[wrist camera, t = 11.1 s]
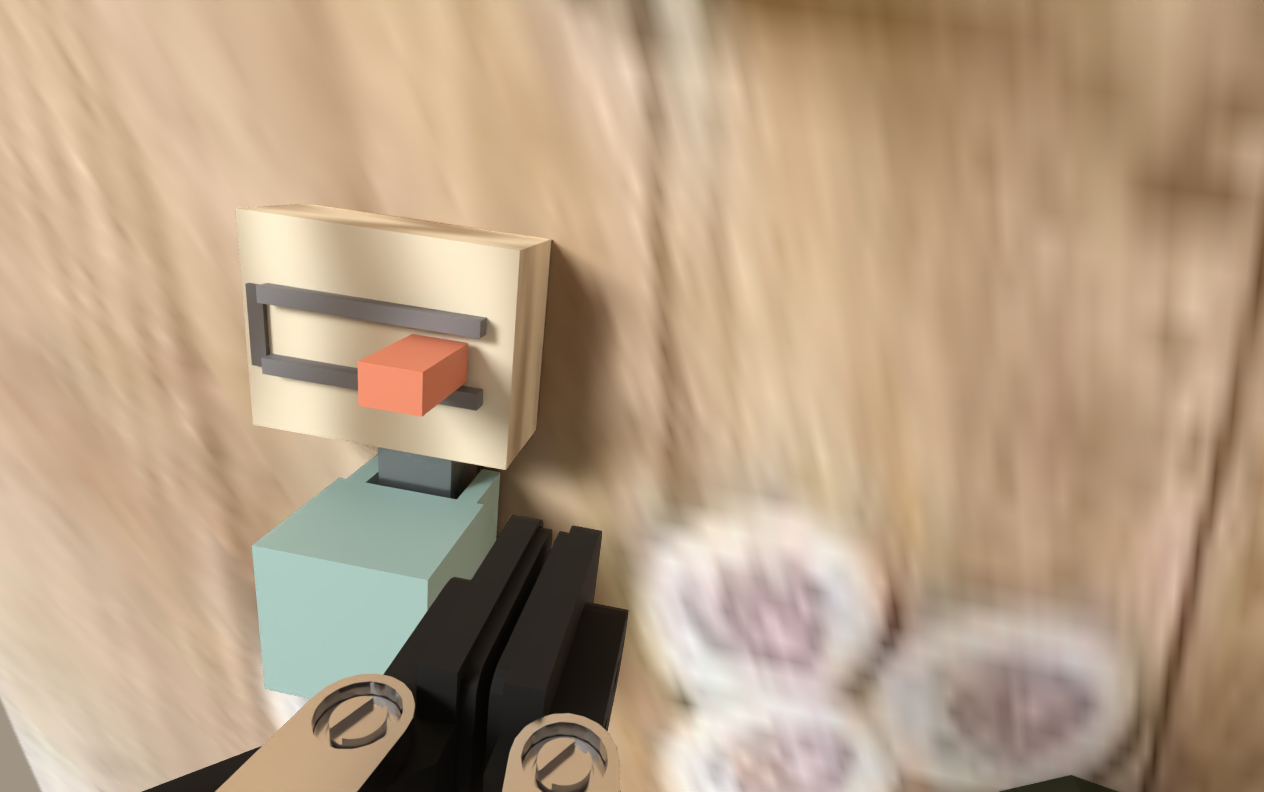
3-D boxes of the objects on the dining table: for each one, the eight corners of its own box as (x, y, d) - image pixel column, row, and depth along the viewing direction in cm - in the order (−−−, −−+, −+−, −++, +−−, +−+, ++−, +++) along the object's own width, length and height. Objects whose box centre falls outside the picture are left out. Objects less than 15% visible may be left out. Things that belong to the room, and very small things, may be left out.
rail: (501, 434, 28) (466, 475, 24) (483, 735, 33) (452, 805, 30) (391, 415, 28) (339, 452, 24) (392, 715, 34) (350, 782, 30)
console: (551, 238, 25) (514, 252, 20) (536, 429, 27) (500, 477, 23) (307, 203, 25) (222, 209, 21) (316, 391, 28) (242, 430, 24)
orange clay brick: (468, 342, 22) (422, 372, 18) (466, 381, 22) (422, 416, 19) (412, 333, 22) (357, 361, 19) (412, 372, 22) (358, 405, 19)
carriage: (507, 473, 28) (427, 580, 20) (499, 589, 30) (425, 723, 22) (375, 449, 28) (252, 545, 21) (376, 564, 30) (264, 688, 23)
